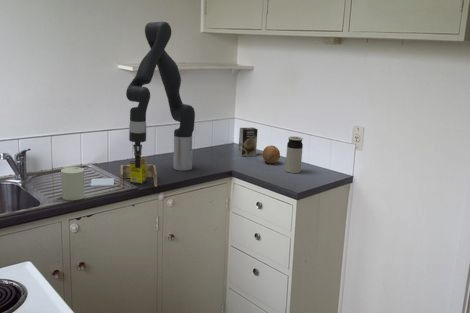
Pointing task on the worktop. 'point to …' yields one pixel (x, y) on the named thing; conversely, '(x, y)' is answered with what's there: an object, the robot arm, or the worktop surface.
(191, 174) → the worktop surface
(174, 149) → the robot arm
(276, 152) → the onion
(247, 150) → the coffee box
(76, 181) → the can
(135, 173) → the supplement box
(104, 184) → the pad
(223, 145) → the worktop surface
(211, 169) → the worktop surface
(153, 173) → the open wooden frame
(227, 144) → the worktop surface
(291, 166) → the travel mug
